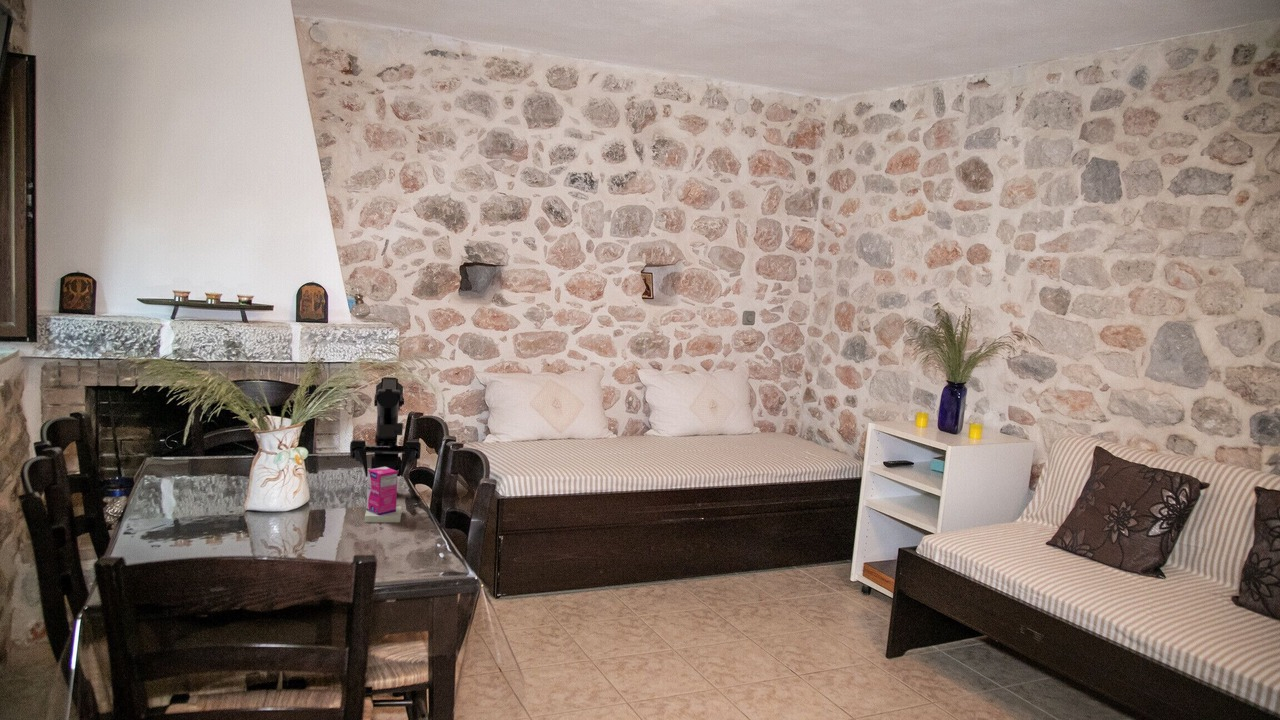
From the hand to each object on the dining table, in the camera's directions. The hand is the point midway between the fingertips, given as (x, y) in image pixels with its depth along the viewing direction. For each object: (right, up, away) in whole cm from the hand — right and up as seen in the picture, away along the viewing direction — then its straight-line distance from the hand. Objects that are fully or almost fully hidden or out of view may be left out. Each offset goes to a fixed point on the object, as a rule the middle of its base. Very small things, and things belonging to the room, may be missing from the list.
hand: (384, 476), depth 226 cm
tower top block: (0, -11, -2) cm, 11 cm away
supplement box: (0, -9, -2) cm, 10 cm away
